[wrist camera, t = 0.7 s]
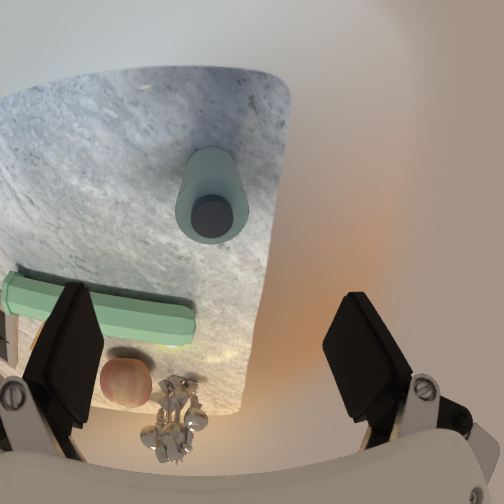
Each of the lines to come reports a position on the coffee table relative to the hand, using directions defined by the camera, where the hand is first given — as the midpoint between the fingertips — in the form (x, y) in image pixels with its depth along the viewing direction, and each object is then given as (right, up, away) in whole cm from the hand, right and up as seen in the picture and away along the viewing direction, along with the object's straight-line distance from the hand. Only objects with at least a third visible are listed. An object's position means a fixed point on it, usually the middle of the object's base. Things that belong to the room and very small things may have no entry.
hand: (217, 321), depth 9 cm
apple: (-17, -14, +27) cm, 35 cm away
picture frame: (-45, -9, +19) cm, 50 cm away
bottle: (-2, +10, +14) cm, 17 cm away
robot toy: (-13, -21, +33) cm, 41 cm away
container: (-18, -3, +20) cm, 27 cm away
